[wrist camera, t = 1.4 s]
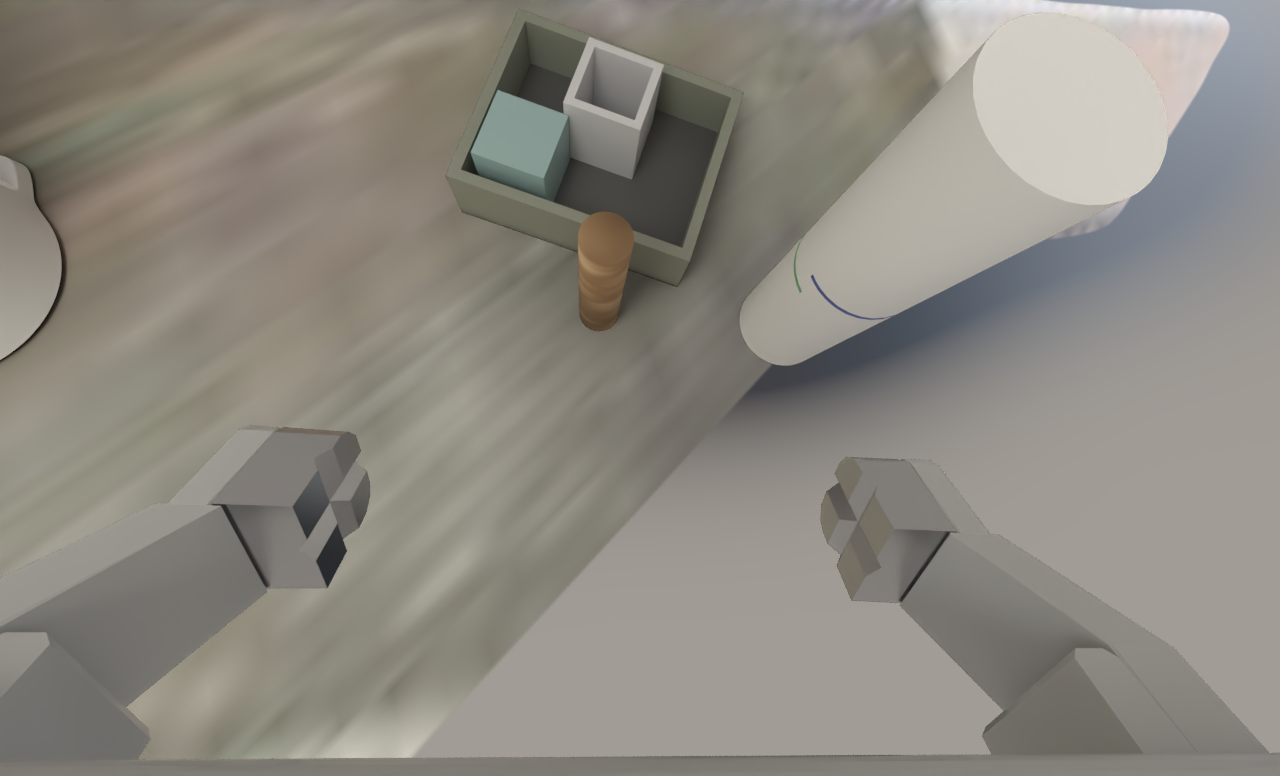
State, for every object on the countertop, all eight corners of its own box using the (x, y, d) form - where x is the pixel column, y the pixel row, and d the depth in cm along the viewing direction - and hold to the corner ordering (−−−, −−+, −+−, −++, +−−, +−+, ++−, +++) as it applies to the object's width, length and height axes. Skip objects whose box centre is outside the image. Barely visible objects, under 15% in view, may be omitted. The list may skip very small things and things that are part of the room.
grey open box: (462, 211, 40) (436, 157, 33) (526, 61, 43) (515, -17, 36) (676, 286, 41) (696, 249, 34) (725, 135, 44) (752, 72, 37)
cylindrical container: (772, 382, 40) (1063, 243, 16) (722, 308, 41) (931, 64, 16) (840, 337, 42) (1207, 145, 17) (791, 266, 42) (1079, -18, 18)
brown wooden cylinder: (574, 323, 39) (570, 253, 27) (586, 289, 40) (588, 203, 27) (610, 336, 40) (624, 271, 27) (622, 301, 40) (641, 222, 27)
